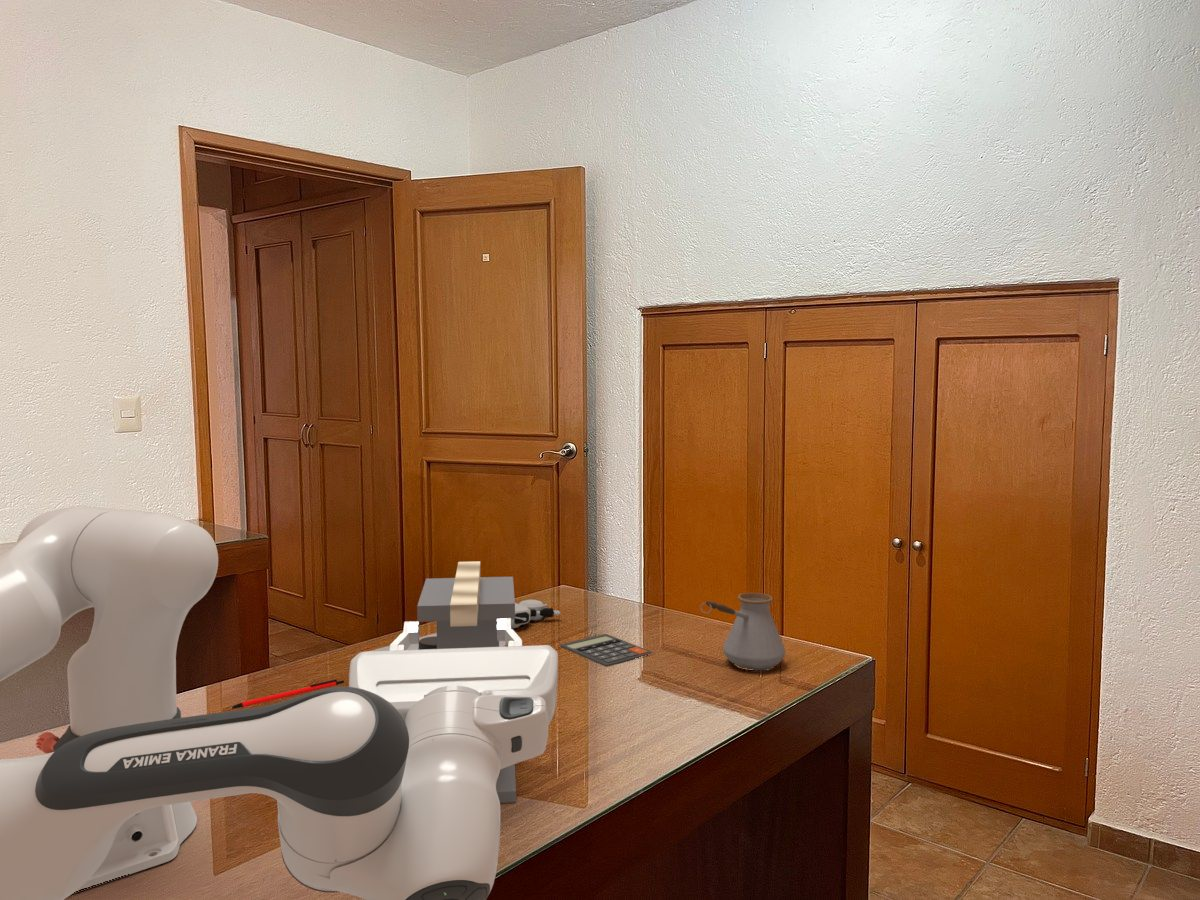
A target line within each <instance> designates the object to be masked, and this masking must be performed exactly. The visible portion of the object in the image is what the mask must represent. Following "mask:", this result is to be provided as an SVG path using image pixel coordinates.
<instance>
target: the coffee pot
mask: <svg viewBox="0 0 1200 900" xmlns="http://www.w3.org/2000/svg"><path fill="white" fill-rule="evenodd" d="M737 599H738V601H739V603H740V609H739V610H735V609H733V608H731V607H728V606H726V605H725V604H720V603H717V602H716V601H713V602H712V601H711V600H710V601H706V602H703V603H701V605H700V610H701V612H703V613H704V614H708V613H711V612H712V610H717V611H719V612H721V613H726V614H729V615H734V616H736V618H735V620H734V622H733V624H732V626H731V628H730V631H729V633H728V635H727V637H726V639H725V642H724V643H723V646H722V651H723V653H724V655H725V657H726V658H727V660H729V661H730V662H731V663H732V664H733V663H734V664H735V665H737V666H739V667H742V668H747V669H753V670H767V669H770V670H772V669H771V668H772V667H774V666H777V665H779V664H780V663H781V662H782V661H783V660H784V657H785V655H786V649H785V646H784V643H783V640H782V638H781V635H780V633H779V631H778V628H777V626H776V623H775V620H774V618H773V616H772V613H771V610H770V605H771V603H772V602H773V599H774V598H773V596H771V595H769V594H767V593H760V592H744V593H739V594H738V596H737ZM703 605H706V606H708V607H710V609H709V611H707V612H706V611H703V609H702V606H703ZM774 668H775V667H774ZM767 671H768V670H767Z"/></svg>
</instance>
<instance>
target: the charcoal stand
mask: <svg viewBox="0 0 1200 900" xmlns="http://www.w3.org/2000/svg"><path fill="white" fill-rule="evenodd" d="M454 582H455V577H442V578H440V577H439V578H438V577H437V578H436V577H434V578H425V581H424V584H423V587H422V590H421V593H420V596H419V599H418V602H417V605H416V609H417V610H416V614H417V615H416V617H417V620H416V621H419V623H421V622H422V623H425V622H427V623H429V622H436V633H437V649H451V648H479V647H499V641H497V618H511V619H515V603H516V601H515V589H514V588H515V585H514V576H487V577H486V576H483V577H481V576H480V592H479V605H478V618H477V626H454V627H450V603H451V598H452V593H453V587H454ZM516 785H517V783H516V764H513V765H511V766H508V767H505V768H503V769H501V770H500V773H499V776H498V779H497V782H496V791H497V795H498V798H499V801H500V804H509V803H517V786H516Z"/></svg>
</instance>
